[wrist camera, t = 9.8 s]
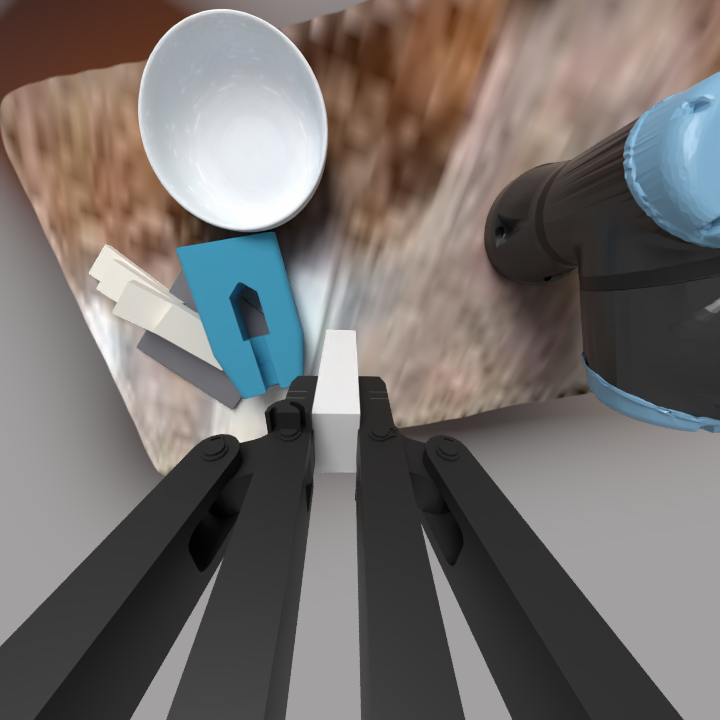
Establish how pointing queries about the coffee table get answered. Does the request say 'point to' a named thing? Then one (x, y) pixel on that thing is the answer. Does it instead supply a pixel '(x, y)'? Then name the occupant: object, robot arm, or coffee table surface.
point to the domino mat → (192, 365)
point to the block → (223, 316)
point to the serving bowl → (233, 121)
